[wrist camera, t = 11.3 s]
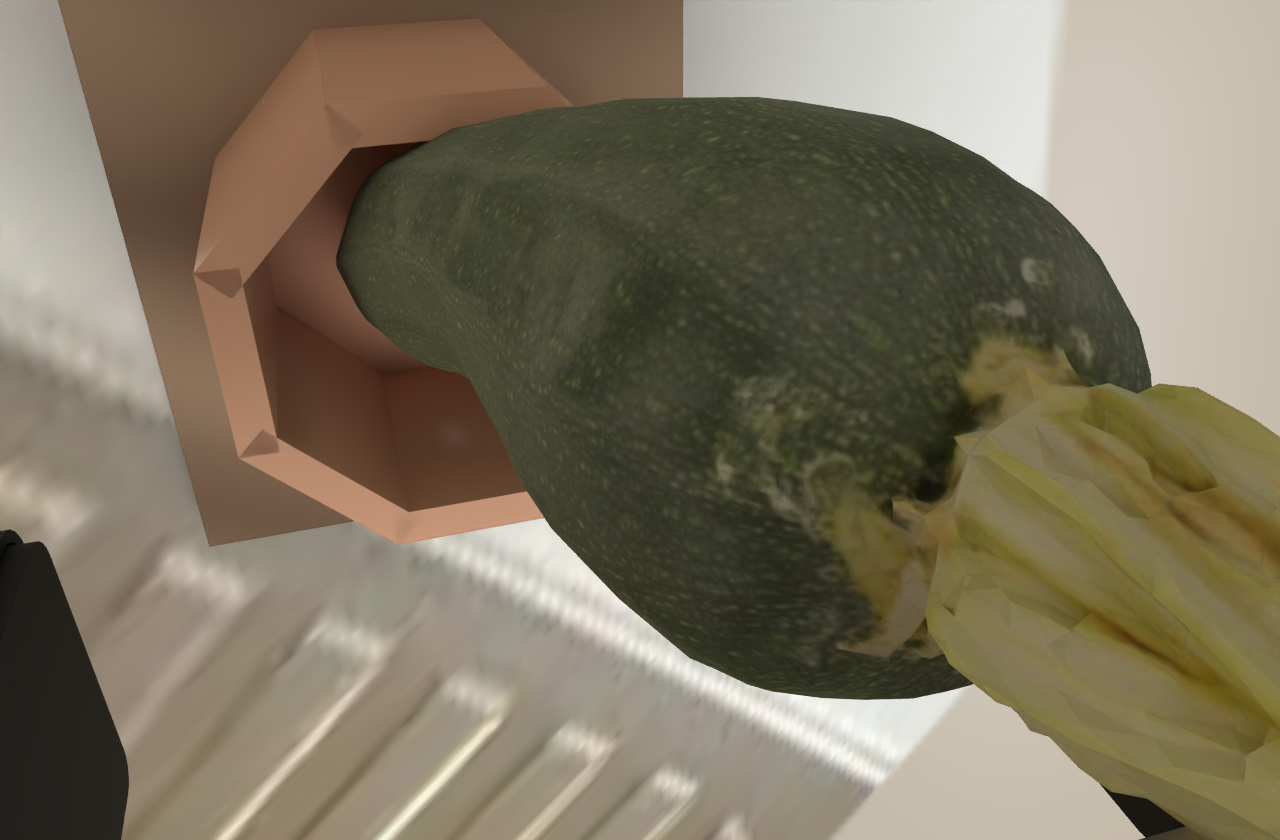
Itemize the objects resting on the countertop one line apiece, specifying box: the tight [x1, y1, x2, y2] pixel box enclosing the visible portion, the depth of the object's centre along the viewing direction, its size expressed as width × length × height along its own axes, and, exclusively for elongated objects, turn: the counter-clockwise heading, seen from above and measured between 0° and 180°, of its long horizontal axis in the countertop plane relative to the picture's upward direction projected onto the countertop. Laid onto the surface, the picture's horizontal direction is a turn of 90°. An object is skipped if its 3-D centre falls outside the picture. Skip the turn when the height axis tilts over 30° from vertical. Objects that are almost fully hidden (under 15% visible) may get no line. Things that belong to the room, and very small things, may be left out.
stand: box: [58, 0, 683, 547], centre depth 22 cm, size 14×11×2 cm
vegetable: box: [336, 97, 1280, 840], centre depth 11 cm, size 4×4×20 cm
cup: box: [193, 18, 576, 545], centre depth 18 cm, size 7×7×6 cm
